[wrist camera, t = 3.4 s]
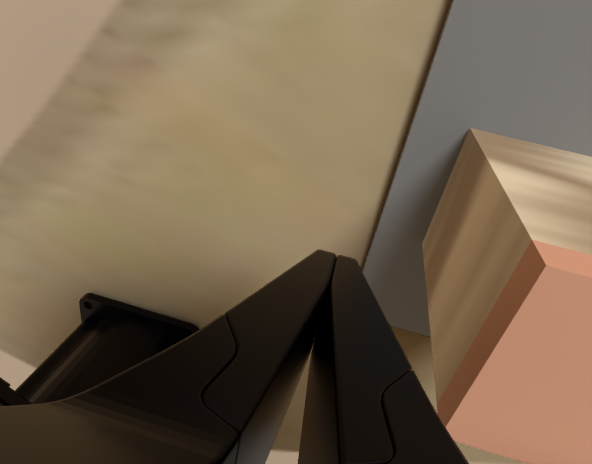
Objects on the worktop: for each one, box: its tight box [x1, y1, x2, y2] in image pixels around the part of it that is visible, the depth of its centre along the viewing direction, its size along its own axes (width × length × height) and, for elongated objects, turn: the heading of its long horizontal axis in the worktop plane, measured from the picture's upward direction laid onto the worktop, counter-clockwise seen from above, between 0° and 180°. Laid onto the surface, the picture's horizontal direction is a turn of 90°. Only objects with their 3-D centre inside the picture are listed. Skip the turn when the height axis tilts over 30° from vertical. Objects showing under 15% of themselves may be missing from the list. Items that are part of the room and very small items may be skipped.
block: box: [422, 128, 592, 464], centre depth 11 cm, size 4×4×8 cm
